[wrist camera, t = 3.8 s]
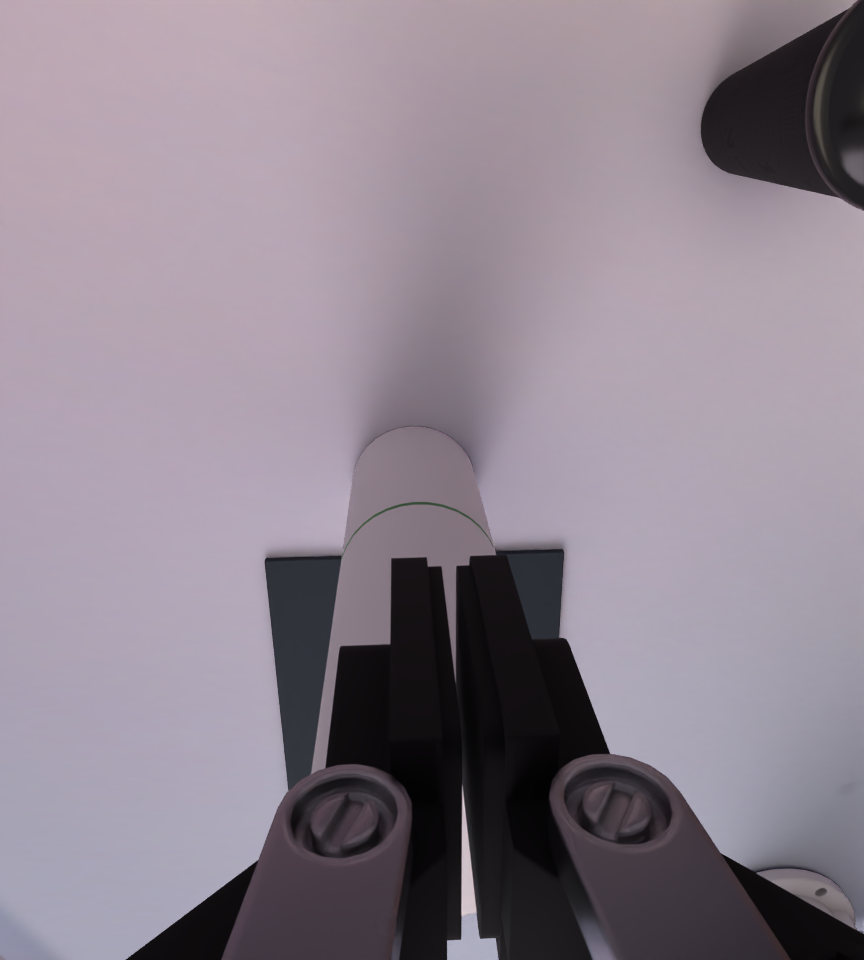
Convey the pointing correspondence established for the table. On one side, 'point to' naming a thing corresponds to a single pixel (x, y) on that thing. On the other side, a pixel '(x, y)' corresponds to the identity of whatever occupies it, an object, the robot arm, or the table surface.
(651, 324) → the table surface
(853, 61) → the drinking cup
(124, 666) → the table surface
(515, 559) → the desk mat
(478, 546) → the cylindrical container
